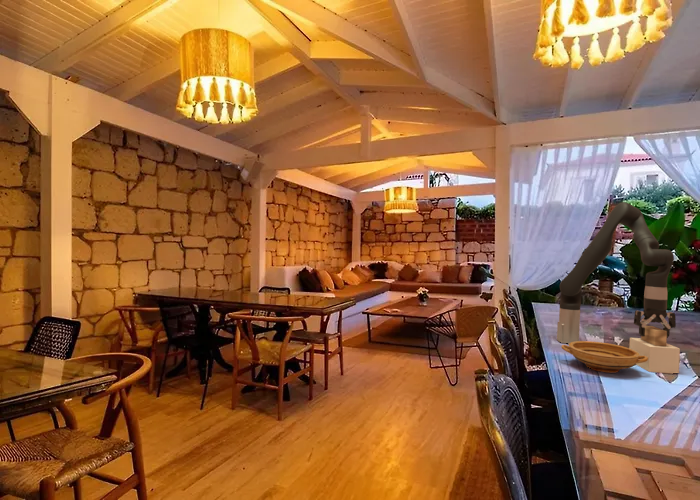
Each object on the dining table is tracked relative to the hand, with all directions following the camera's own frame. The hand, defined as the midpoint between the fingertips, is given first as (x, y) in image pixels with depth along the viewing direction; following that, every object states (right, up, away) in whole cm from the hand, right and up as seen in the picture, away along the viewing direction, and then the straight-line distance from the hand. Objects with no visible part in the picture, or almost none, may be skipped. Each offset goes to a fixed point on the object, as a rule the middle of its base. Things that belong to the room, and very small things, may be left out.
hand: (653, 336), depth 162 cm
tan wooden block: (0, -6, 0) cm, 5 cm away
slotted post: (0, -13, 0) cm, 12 cm away
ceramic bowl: (-23, -12, -3) cm, 26 cm away
